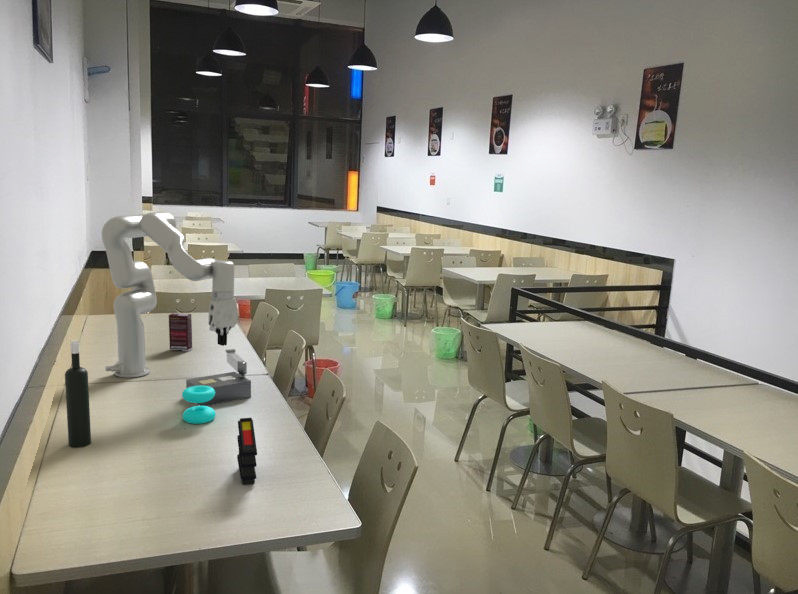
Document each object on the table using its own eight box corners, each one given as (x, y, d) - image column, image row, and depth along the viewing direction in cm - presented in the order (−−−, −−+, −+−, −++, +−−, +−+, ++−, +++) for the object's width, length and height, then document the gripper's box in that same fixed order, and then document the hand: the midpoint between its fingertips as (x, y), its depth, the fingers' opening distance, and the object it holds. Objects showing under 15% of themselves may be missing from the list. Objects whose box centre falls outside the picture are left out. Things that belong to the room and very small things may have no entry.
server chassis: (201, 406, 222) (201, 387, 221) (186, 396, 232) (186, 377, 231) (256, 396, 234) (256, 378, 233) (240, 386, 244) (240, 369, 243)
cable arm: (248, 373, 236) (248, 361, 235) (239, 375, 235) (239, 362, 234) (234, 360, 252) (234, 349, 251) (225, 361, 251) (225, 349, 250)
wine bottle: (66, 448, 186) (61, 343, 180) (70, 440, 191) (65, 338, 186) (89, 446, 187) (84, 343, 182) (92, 439, 193) (87, 338, 187)
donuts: (216, 392, 206) (182, 395, 203) (217, 423, 208) (183, 426, 204) (213, 383, 215) (181, 385, 212) (214, 412, 217) (181, 415, 214)
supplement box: (192, 349, 293) (192, 313, 290) (188, 351, 288) (187, 315, 286) (173, 347, 294) (172, 312, 291) (169, 350, 289) (168, 314, 286)
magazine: (250, 455, 181) (252, 416, 173) (255, 495, 171) (258, 455, 163) (236, 456, 180) (238, 417, 172) (240, 496, 170) (242, 457, 161)
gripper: (212, 299, 231) (212, 350, 235) (246, 294, 243) (245, 343, 246) (199, 295, 235) (198, 346, 239) (232, 291, 247) (231, 339, 251)
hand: (222, 344), depth 243 cm, fingers closed
